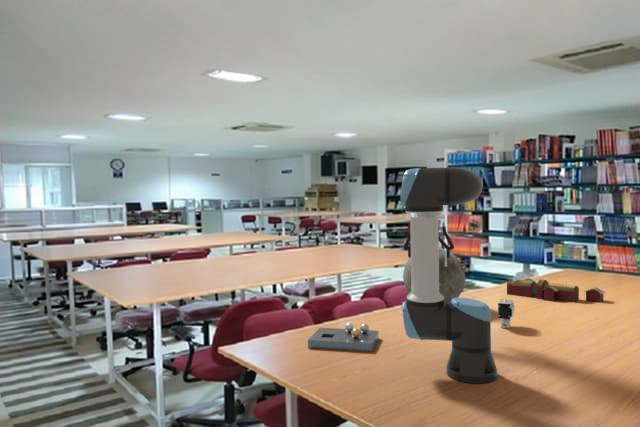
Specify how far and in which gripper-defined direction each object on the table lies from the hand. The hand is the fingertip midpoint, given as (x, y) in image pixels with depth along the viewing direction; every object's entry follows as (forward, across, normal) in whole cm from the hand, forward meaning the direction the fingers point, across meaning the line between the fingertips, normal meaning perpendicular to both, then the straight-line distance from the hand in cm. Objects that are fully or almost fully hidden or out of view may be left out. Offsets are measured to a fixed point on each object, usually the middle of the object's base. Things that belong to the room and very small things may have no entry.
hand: (428, 266), depth 198 cm
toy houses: (+27, -60, -78) cm, 102 cm away
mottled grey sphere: (+27, +1, -44) cm, 51 cm away
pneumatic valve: (+27, -31, -12) cm, 43 cm away
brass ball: (+22, +26, +25) cm, 43 cm away
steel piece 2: (+22, +24, +18) cm, 37 cm away
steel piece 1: (+22, +30, +18) cm, 42 cm away
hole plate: (+27, +31, +23) cm, 47 cm away
